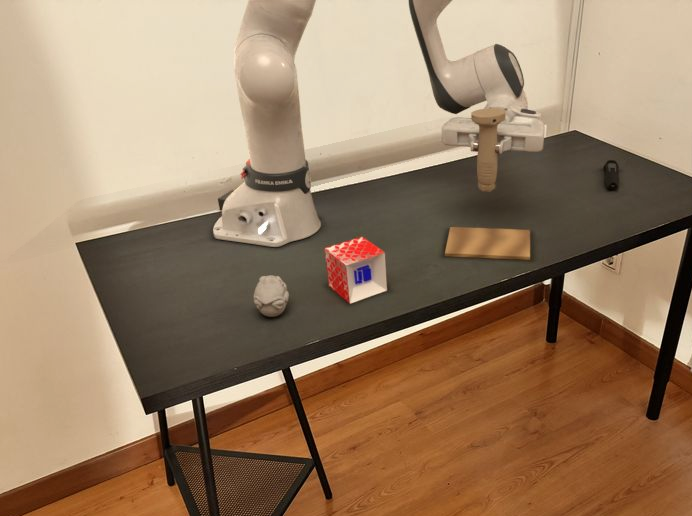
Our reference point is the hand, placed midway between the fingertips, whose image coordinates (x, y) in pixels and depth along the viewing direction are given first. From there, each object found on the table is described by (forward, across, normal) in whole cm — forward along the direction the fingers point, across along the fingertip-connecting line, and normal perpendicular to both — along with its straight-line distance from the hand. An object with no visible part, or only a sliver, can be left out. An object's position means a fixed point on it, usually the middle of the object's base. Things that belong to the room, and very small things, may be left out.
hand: (486, 148), depth 136 cm
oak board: (-1, +1, +21) cm, 21 cm away
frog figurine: (+34, -31, +20) cm, 50 cm away
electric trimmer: (-42, +24, +21) cm, 53 cm away
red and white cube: (+22, -20, +21) cm, 36 cm away
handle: (-1, 0, +9) cm, 9 cm away
